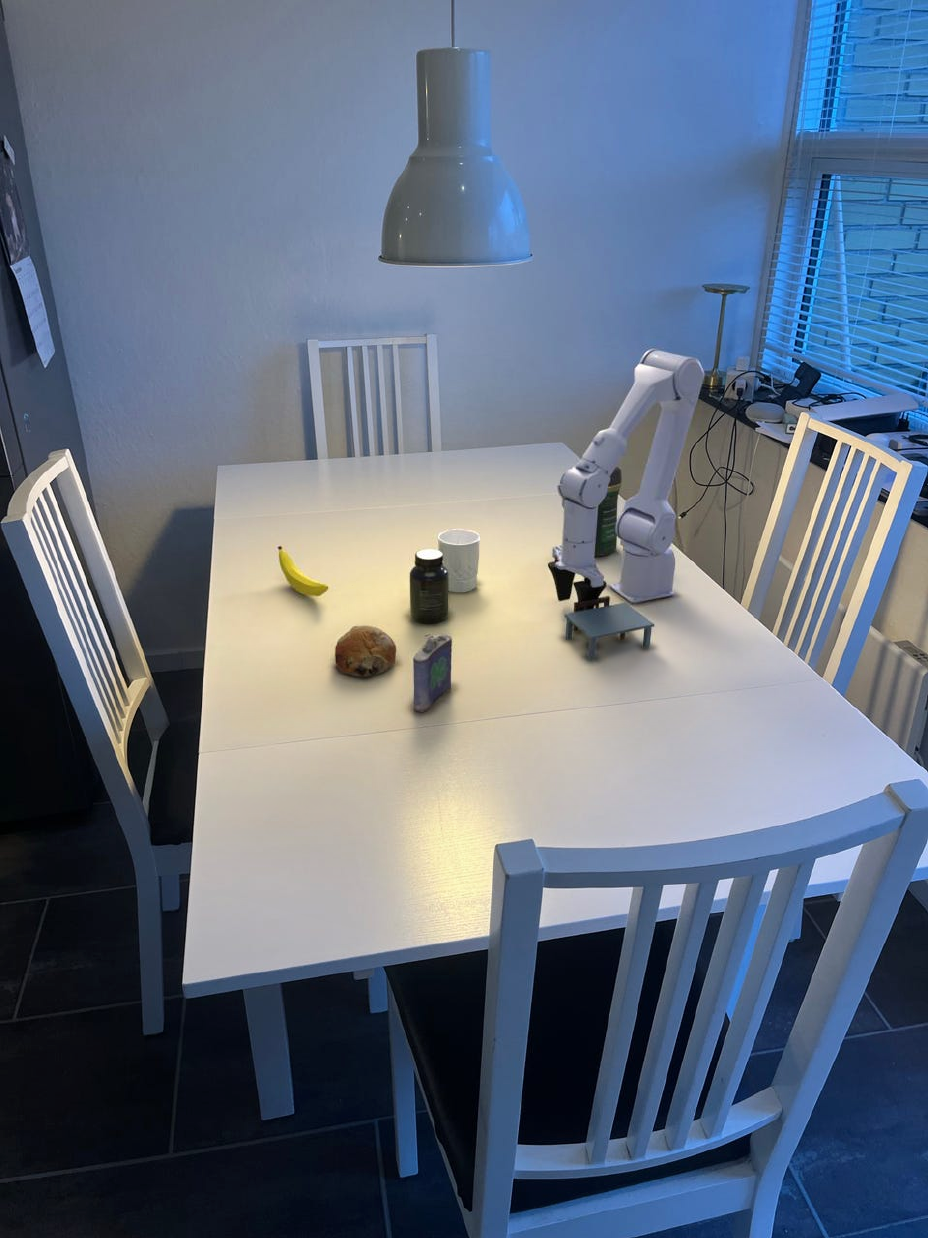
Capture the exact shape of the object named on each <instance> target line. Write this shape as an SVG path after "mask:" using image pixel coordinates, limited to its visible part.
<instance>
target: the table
mask: <svg viewBox="0 0 928 1238" xmlns="http://www.w3.org/2000/svg"><path fill="white" fill-rule="evenodd" d="M564 618H565V619H566V621H565V635H564V636H565V639H566V640H567V641H570V640H573V633H574V631H573V624H574V625H575V626H576V627H577V628H578V630H580V632H582V633H583V634H584V635H585V636H586V637H588V649H587V651H588V652H587V659H588V660H589V661H593V660H596V653H597V652H596V651H597V641H598V640H597V639H601V638H602V639H603V638H607V637H610V636H615V635H620V634H621V633H625V634H626V633H629V632H630V633H631V632H635V631H638V630H640V631H641V630H643V635H642V636H643V637H642V647H643V648H644V649H648V648H650V647H651V637H652V628H654V627H655V623H654V622H652V621H651V620H650V619H648V618H647V617H645V615H643V614H641V613H640V612H639V611H637V610H636V609H635V608H634V607H632V606H631V605H629V604H628V603H627V602H620V603H615V604H611V605H610V604H609V606H604V605H603V606H599V608H595V607H594V609H589V610H584V611H579V612H574V611H573V612H569V613H564Z"/></svg>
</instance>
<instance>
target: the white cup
mask: <svg viewBox="0 0 928 1238" xmlns="http://www.w3.org/2000/svg"><path fill="white" fill-rule="evenodd" d="M437 543H438V544H437V546H438V547H437V550H438V551H441V552H442V554H443V566H444V567H445V568H446V569H447V571H448V573H449V592H451V593H466V592H471V591H472V590H475V588H476V586H477V584H478V583H477V582H478V573H479V562H480V548H481V535H480V534H479V533H478V532H476V531H474V530H471V529H466V528H465V529H463V528H454V529H453V528H452V529H447V530H444V531H442V532H439V534H438V535H437Z"/></svg>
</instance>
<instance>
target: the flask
mask: <svg viewBox="0 0 928 1238" xmlns="http://www.w3.org/2000/svg"><path fill="white" fill-rule="evenodd" d="M425 638H426V641H425V643H424V644H423V645H422V646H421V647H420V648H419V649H418V650H417V652H416V653H415V654H414V655H413V658H412V663H413V666H412V667H413V669H412V670H413V708H414V709H413V710H414V711H415V712H420V713H424V712H427V711H429V710H431V709H432V707H433V705H435V704H437V703H438V702H439V701H440V699H441V697H444V695H445V694H447V693H448V692H450V691H451V690H452V658H453V657H452V653H453V652H452V651H453V648H452V647H453V638H452V637H451V635H448V634H440V635H438V636H436V637H435V636H434V635H433V634H431V633H426V634H424V637H423V639H424V640H425Z"/></svg>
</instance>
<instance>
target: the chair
mask: <svg viewBox="0 0 928 1238" xmlns="http://www.w3.org/2000/svg"><path fill="white" fill-rule="evenodd" d="M610 601H611V597H610V596H609V595H606V596H601V597H600V596H599V598H595V599H590V600H585V601H580V602H578V601H575V602H573V613H574V612H579V608H580V607H584V610H588V606H590V605H595V607H594V608H599V607H600V605H601V604H603V607H604V606H609V605H610ZM578 631H579V629H578V628H577V627H576V626H575V625H574V624H573V633H574V632H575V633H577V632H578ZM625 639H626V632H625V633H621V634H619V640H621V641H624V640H625Z"/></svg>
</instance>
